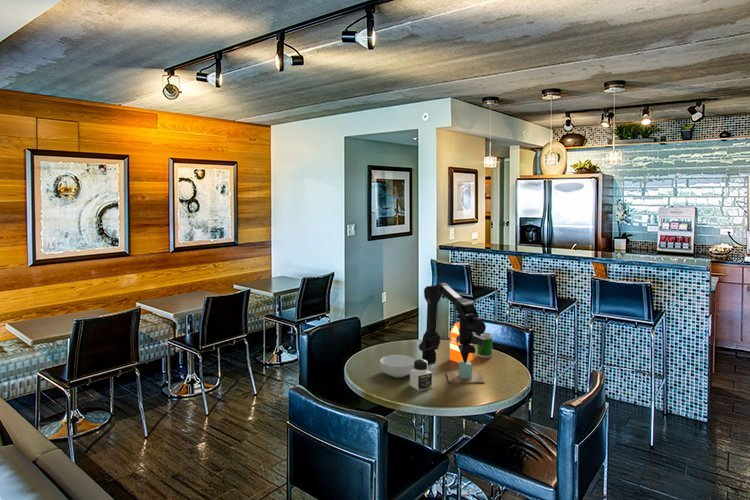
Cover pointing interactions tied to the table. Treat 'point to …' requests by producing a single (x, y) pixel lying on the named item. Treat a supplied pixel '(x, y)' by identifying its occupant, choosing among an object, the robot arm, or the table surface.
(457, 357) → the orange juice
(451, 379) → the wooden base plate
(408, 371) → the cereal bowl
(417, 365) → the medicine bottle
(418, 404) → the table surface
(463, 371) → the pale teal block
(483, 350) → the soda can
